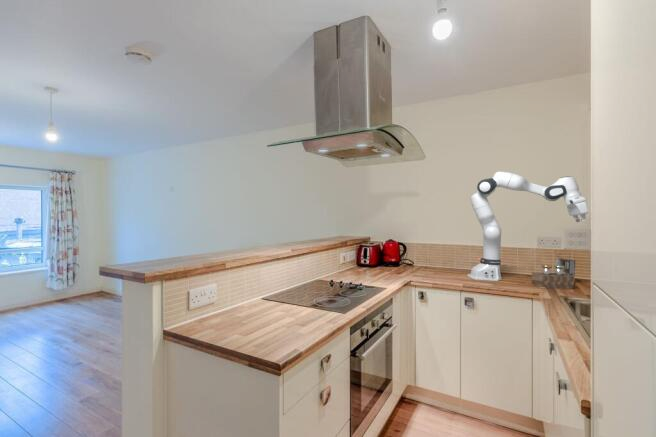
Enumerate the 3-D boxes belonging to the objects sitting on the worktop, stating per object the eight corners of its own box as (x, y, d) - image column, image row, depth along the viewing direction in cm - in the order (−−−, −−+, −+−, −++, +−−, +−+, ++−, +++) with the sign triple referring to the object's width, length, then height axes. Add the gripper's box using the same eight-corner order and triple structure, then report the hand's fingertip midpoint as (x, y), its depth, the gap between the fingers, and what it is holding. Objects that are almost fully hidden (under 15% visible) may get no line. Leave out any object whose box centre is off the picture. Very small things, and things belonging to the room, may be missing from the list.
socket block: (541, 288, 198) (541, 275, 198) (531, 284, 208) (532, 272, 208) (573, 289, 198) (573, 276, 197) (561, 284, 208) (562, 273, 207)
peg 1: (544, 279, 200) (545, 266, 199) (538, 277, 206) (539, 264, 205) (553, 280, 200) (554, 266, 199) (547, 277, 205) (548, 264, 205)
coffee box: (574, 283, 211) (576, 260, 211) (569, 284, 209) (570, 261, 208) (560, 280, 220) (561, 258, 219) (554, 281, 217) (556, 258, 216)
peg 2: (557, 280, 200) (557, 266, 199) (551, 278, 205) (551, 264, 205) (565, 280, 200) (566, 266, 199) (559, 278, 205) (560, 264, 205)
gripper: (562, 203, 206) (569, 223, 204) (574, 200, 187) (581, 222, 185) (573, 200, 204) (580, 220, 202) (586, 197, 185) (594, 220, 183)
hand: (581, 221), depth 194 cm, fingers open, 8 cm apart
